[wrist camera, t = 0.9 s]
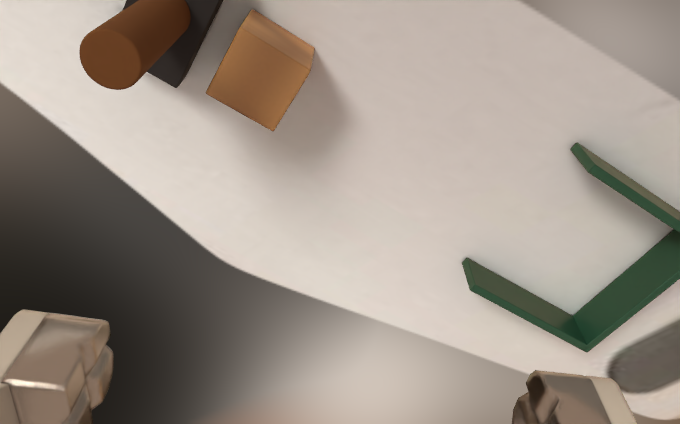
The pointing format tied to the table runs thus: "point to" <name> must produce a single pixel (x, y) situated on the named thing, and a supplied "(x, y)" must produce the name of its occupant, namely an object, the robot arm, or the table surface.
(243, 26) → the cork block
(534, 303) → the frame
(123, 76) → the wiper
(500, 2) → the table surface
